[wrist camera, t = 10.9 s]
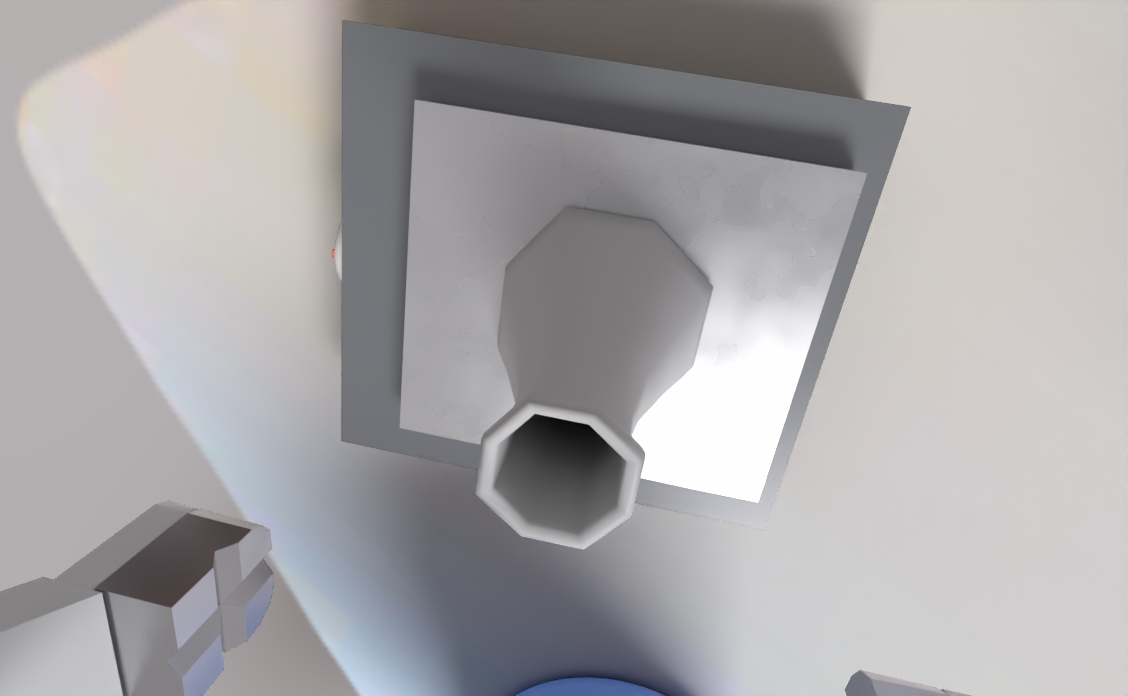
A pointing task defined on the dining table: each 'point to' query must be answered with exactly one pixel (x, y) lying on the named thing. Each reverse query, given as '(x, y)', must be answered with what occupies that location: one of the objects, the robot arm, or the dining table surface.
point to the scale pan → (636, 190)
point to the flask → (586, 371)
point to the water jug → (588, 688)
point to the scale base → (581, 97)
